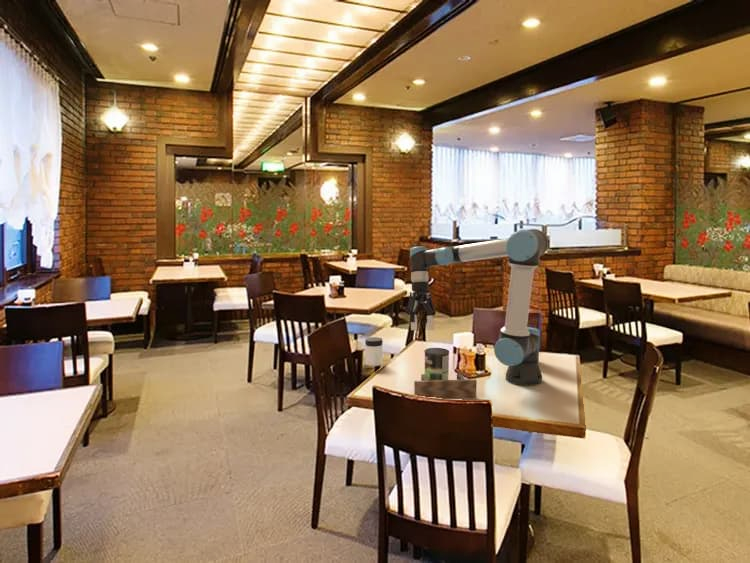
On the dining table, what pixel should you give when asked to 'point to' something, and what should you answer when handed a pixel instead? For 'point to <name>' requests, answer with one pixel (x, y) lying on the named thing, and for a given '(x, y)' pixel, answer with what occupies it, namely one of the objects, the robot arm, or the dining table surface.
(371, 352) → the jar
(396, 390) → the dining table surface
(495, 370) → the dining table surface
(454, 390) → the walnut dock
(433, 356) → the coffee can
